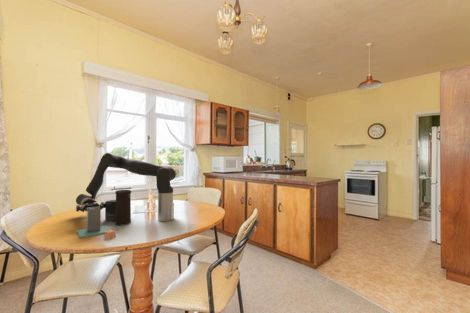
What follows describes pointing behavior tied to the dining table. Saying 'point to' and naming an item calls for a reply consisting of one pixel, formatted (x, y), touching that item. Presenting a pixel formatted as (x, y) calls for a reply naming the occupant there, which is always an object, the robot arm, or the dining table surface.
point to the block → (110, 234)
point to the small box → (110, 210)
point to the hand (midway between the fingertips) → (92, 208)
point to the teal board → (84, 233)
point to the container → (123, 207)
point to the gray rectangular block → (93, 219)
